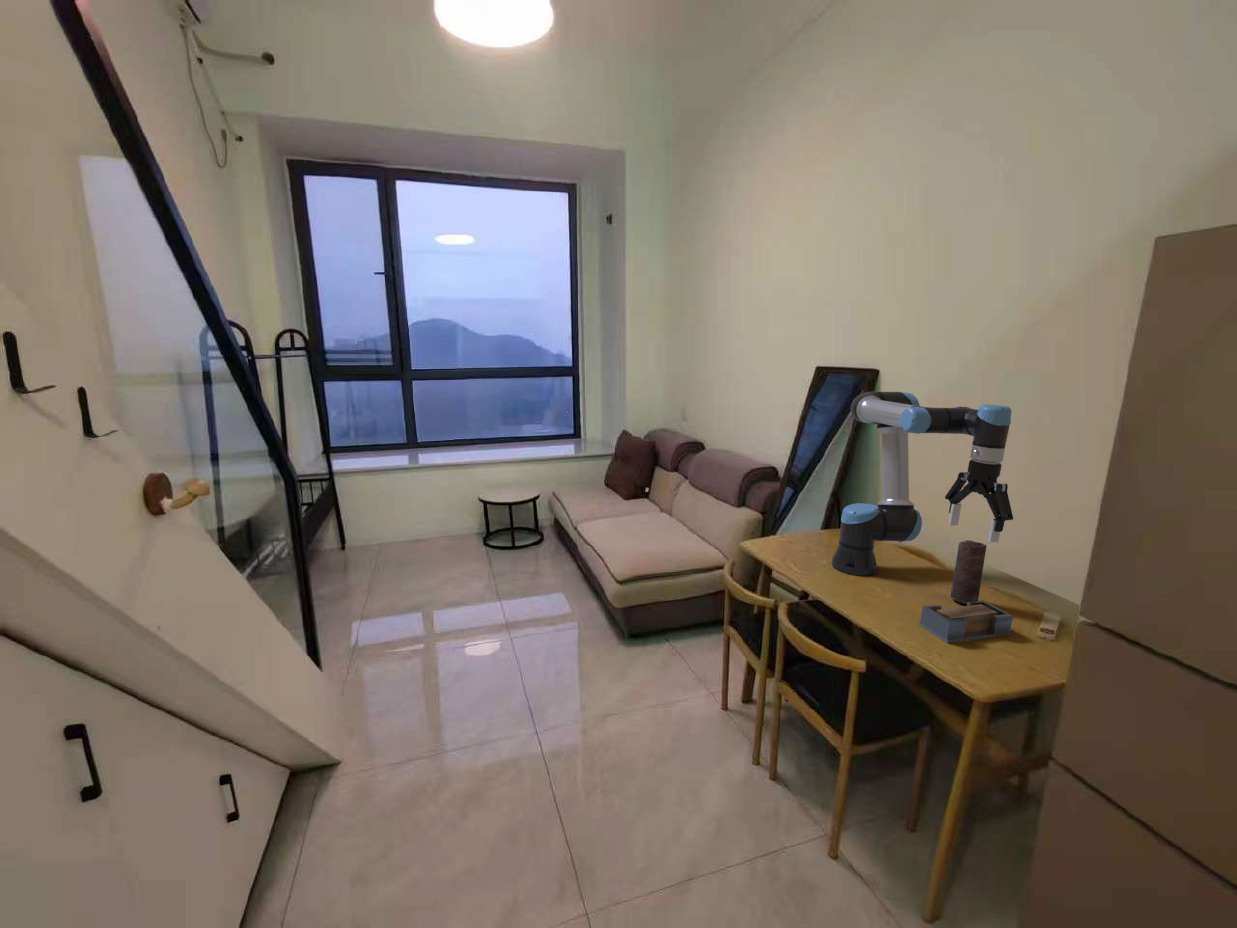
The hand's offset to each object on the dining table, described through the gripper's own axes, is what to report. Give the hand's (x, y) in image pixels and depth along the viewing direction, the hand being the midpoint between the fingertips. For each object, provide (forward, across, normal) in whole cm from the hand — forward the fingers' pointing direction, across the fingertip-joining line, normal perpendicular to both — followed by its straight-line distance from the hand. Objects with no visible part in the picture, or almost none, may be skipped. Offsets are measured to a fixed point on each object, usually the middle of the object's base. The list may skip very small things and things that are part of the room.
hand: (972, 533), depth 152 cm
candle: (+27, -8, +10) cm, 30 cm away
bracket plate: (+26, +7, -4) cm, 28 cm away
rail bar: (+25, +7, -5) cm, 27 cm away
